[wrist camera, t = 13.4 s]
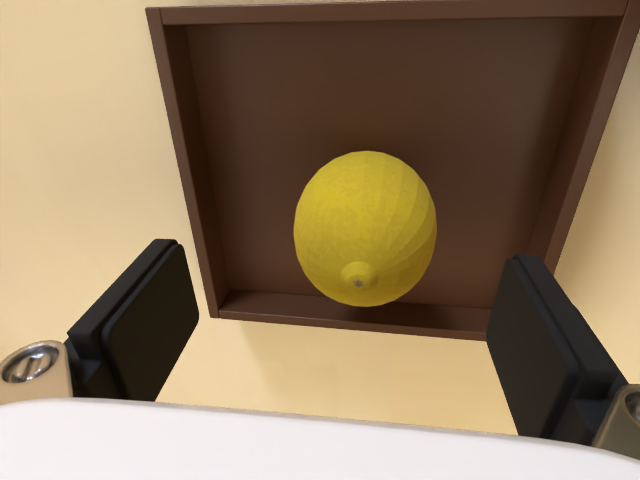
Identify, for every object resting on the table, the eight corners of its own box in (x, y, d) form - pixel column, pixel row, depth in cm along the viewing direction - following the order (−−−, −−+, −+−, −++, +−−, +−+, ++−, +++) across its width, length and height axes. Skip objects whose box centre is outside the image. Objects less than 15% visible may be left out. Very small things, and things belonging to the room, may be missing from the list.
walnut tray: (225, 291, 24) (209, 318, 22) (174, 8, 17) (143, 7, 14) (515, 313, 22) (529, 345, 20) (612, -3, 14) (652, -6, 12)
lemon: (446, 151, 17) (486, 239, 11) (399, 249, 20) (407, 368, 13) (329, 113, 17) (294, 176, 10) (299, 216, 20) (256, 320, 13)
